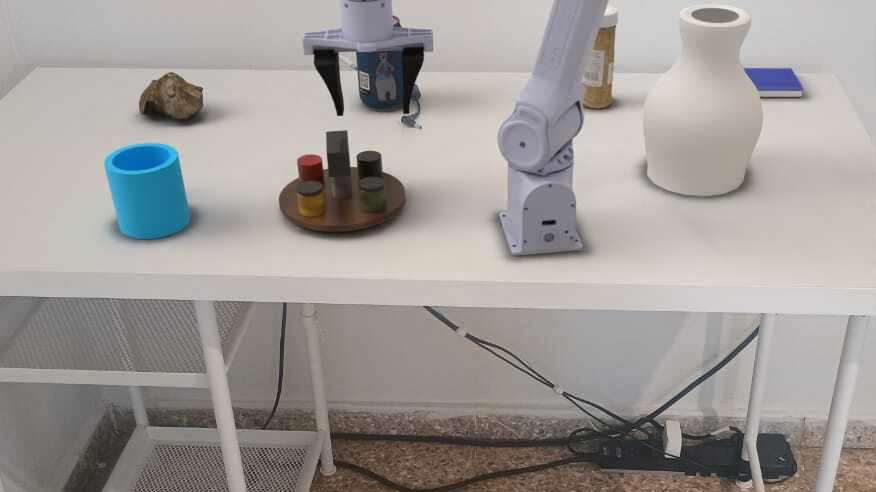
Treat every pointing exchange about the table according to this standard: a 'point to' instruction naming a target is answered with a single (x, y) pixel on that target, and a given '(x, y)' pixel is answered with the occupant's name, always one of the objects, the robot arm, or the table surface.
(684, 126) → the vase
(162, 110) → the fossilized seashell
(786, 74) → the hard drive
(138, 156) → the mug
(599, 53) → the sprinkles bottle
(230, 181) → the table surface
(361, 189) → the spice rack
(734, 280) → the table surface
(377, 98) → the soda can
